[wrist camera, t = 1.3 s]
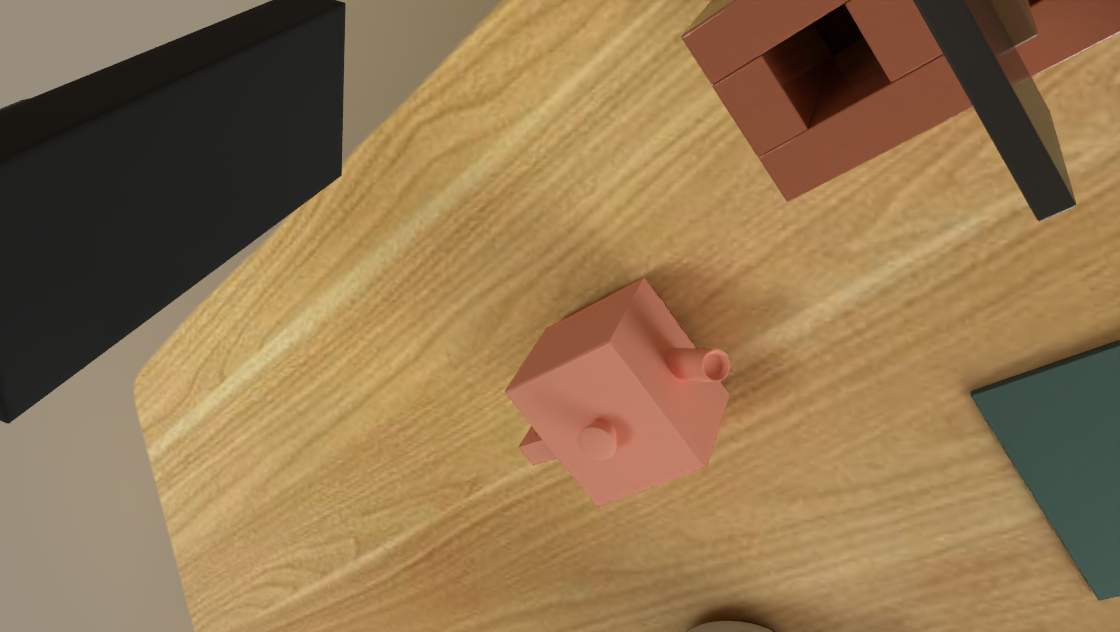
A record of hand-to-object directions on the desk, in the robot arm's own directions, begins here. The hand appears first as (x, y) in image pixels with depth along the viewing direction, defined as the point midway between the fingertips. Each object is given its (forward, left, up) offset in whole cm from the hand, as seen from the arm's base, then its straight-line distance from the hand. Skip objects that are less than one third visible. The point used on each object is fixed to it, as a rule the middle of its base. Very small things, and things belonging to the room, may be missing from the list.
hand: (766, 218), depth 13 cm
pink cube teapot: (+20, +13, -29) cm, 37 cm away
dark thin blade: (-2, +3, -29) cm, 29 cm away
